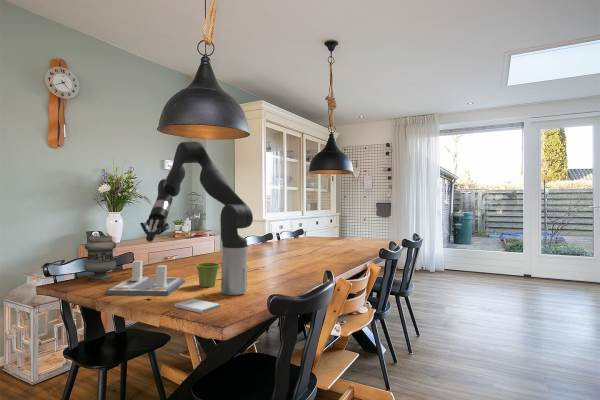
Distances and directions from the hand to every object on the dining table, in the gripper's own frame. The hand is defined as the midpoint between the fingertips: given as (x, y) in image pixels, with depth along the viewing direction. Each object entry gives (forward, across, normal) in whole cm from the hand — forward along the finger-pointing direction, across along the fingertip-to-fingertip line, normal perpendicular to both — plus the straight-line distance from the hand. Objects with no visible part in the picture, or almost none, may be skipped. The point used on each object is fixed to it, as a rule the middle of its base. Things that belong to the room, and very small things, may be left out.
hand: (149, 240), depth 156 cm
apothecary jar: (+12, -20, +11) cm, 26 cm away
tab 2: (+25, +13, -5) cm, 29 cm away
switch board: (+23, +6, 0) cm, 24 cm away
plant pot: (+19, +28, +4) cm, 34 cm away
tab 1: (+18, 0, +2) cm, 18 cm away
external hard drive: (+40, +32, -16) cm, 54 cm away
